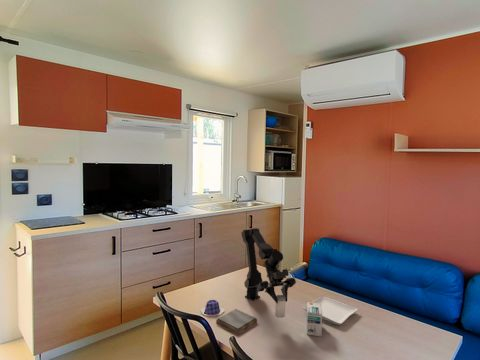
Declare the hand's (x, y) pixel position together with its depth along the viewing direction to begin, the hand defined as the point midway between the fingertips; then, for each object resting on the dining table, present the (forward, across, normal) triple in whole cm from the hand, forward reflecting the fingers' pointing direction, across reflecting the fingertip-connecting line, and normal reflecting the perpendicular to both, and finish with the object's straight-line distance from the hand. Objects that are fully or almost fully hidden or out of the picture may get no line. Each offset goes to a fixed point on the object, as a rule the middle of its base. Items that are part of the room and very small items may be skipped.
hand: (281, 302), depth 144 cm
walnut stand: (+1, -18, +18) cm, 25 cm away
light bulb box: (+13, +15, +6) cm, 21 cm away
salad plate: (+6, +32, +14) cm, 35 cm away
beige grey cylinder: (+4, 0, +6) cm, 7 cm away
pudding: (-9, -26, +28) cm, 40 cm away
